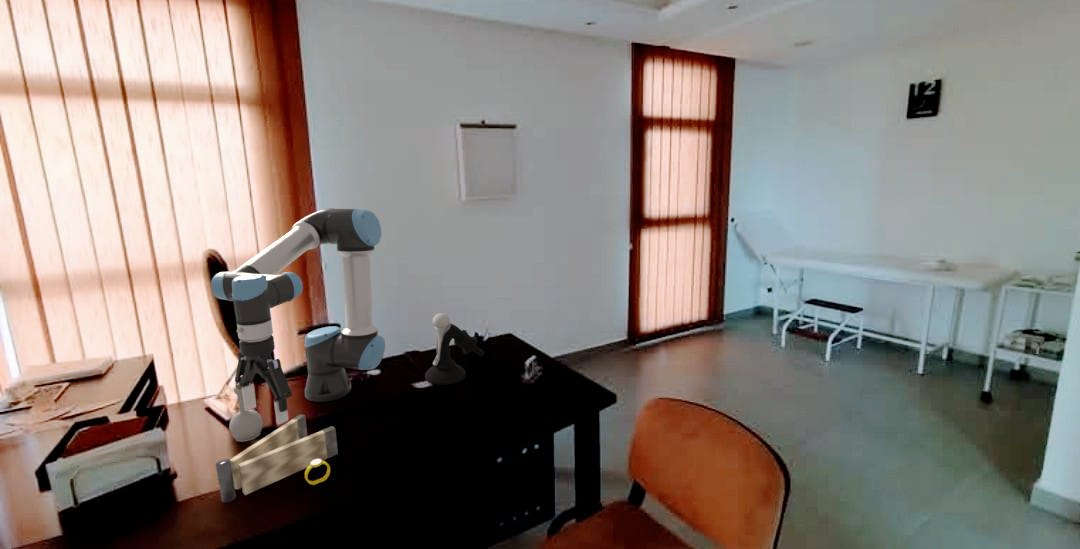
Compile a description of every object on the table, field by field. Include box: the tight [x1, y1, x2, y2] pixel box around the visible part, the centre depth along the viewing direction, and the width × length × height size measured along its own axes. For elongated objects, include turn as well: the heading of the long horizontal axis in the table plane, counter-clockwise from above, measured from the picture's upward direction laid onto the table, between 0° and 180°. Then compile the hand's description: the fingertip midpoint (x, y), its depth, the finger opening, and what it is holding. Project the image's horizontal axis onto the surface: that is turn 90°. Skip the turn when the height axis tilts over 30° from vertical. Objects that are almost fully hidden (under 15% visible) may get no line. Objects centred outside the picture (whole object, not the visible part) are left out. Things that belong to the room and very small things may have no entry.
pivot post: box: [215, 458, 237, 504], centre depth 124 cm, size 3×3×10 cm
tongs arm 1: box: [229, 413, 308, 490], centre depth 139 cm, size 24×2×8 cm, turn 162°
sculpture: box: [424, 312, 486, 386], centre depth 193 cm, size 15×24×25 cm, turn 120°
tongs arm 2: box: [238, 425, 339, 496], centre depth 135 cm, size 24×2×8 cm, turn 138°
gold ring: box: [304, 459, 331, 486], centre depth 131 cm, size 6×3×6 cm, turn 129°
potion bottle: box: [228, 381, 264, 443], centre depth 151 cm, size 9×9×18 cm
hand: (266, 415), depth 131 cm, fingers open, 13 cm apart
